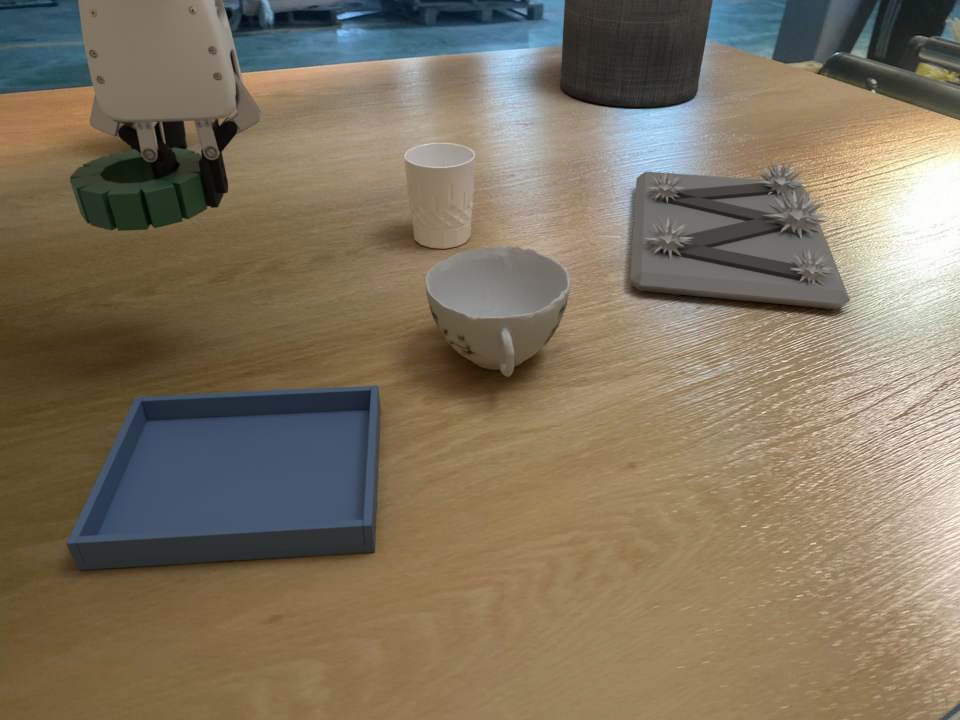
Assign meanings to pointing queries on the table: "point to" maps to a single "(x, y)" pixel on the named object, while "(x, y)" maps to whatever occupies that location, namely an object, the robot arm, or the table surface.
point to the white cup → (440, 193)
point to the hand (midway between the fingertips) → (196, 200)
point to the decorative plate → (733, 240)
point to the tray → (235, 479)
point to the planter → (633, 50)
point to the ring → (138, 191)
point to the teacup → (497, 303)
